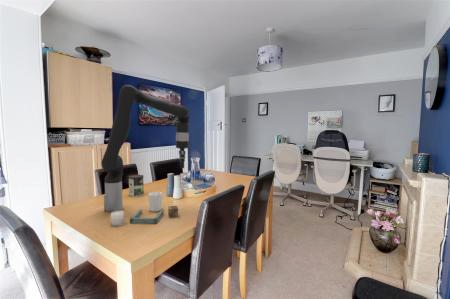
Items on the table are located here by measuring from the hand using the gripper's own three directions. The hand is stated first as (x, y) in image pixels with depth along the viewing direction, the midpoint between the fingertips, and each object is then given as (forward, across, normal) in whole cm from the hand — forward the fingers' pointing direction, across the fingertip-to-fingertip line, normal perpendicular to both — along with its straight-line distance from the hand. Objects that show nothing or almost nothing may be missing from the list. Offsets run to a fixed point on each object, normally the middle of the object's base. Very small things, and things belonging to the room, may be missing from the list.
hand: (182, 166), depth 134 cm
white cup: (+27, -2, -15) cm, 31 cm away
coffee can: (+28, -36, -32) cm, 56 cm away
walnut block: (+27, +9, -5) cm, 29 cm away
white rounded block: (+27, +15, -33) cm, 45 cm away
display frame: (+27, +10, -18) cm, 34 cm away
